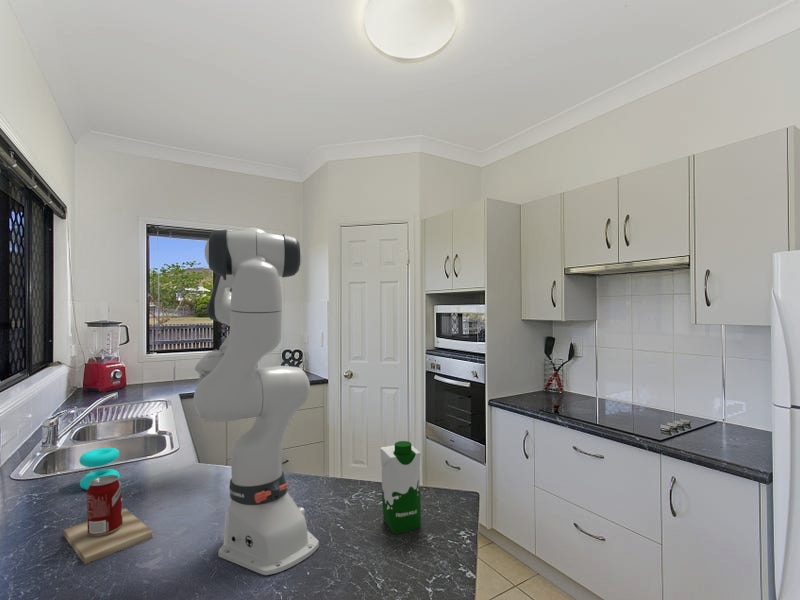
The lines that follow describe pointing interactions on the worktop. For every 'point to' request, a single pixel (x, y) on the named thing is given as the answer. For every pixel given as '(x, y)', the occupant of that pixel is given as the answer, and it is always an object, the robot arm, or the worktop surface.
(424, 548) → the worktop surface
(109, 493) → the soda can
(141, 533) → the cutting board
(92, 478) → the donuts
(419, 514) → the milk carton
